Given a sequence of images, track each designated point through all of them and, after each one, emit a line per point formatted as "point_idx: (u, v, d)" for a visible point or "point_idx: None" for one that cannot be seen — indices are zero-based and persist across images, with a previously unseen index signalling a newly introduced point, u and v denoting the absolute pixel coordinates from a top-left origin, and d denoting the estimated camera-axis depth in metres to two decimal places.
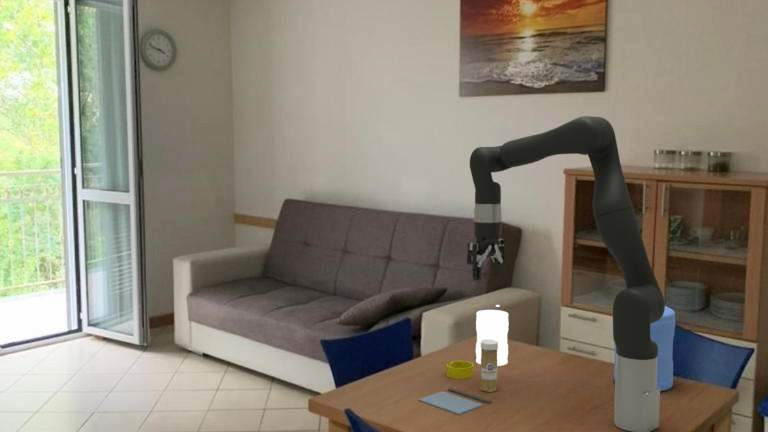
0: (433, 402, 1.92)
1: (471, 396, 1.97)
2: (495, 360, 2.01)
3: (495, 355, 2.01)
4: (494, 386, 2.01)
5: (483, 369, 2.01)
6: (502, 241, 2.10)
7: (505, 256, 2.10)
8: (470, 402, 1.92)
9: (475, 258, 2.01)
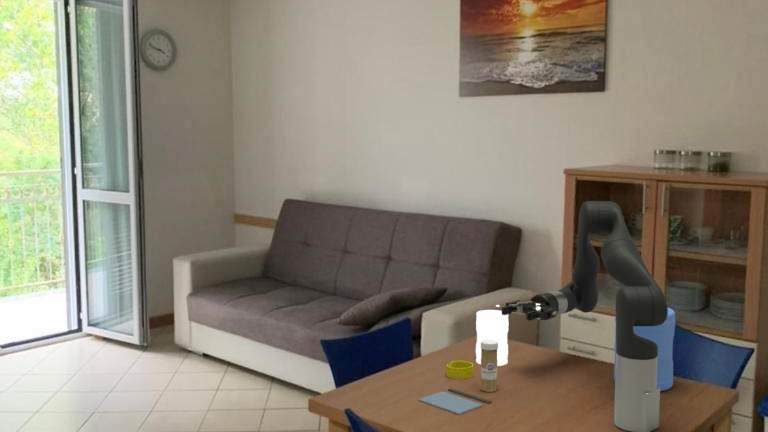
0: (433, 402, 1.92)
1: (471, 396, 1.97)
2: (495, 360, 2.01)
3: (495, 355, 2.01)
4: (494, 386, 2.01)
5: (483, 369, 2.01)
6: None
7: (546, 310, 2.08)
8: (470, 402, 1.92)
9: (510, 302, 2.18)
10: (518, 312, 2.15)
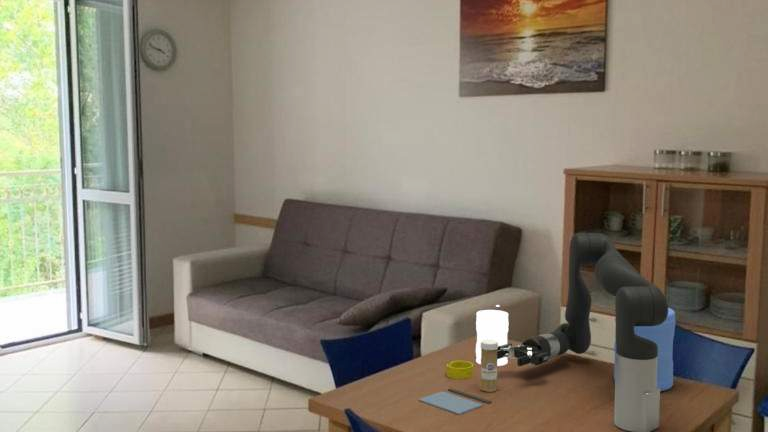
0: (433, 402, 1.92)
1: (471, 396, 1.97)
2: (495, 360, 2.01)
3: (495, 355, 2.01)
4: (494, 386, 2.01)
5: (483, 369, 2.01)
6: None
7: (537, 355, 2.06)
8: (470, 402, 1.92)
9: (502, 346, 2.16)
10: (510, 356, 2.14)
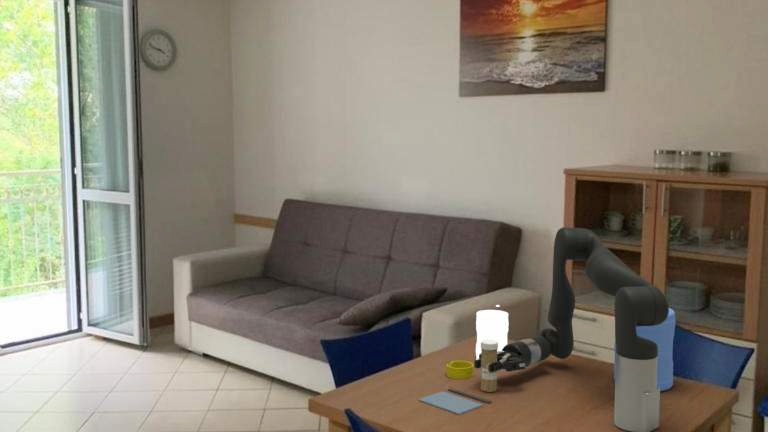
0: (433, 402, 1.92)
1: (471, 396, 1.97)
2: (495, 360, 2.01)
3: (495, 355, 2.01)
4: (494, 386, 2.01)
5: (483, 369, 2.01)
6: None
7: (509, 361, 2.01)
8: (470, 402, 1.92)
9: None
10: None
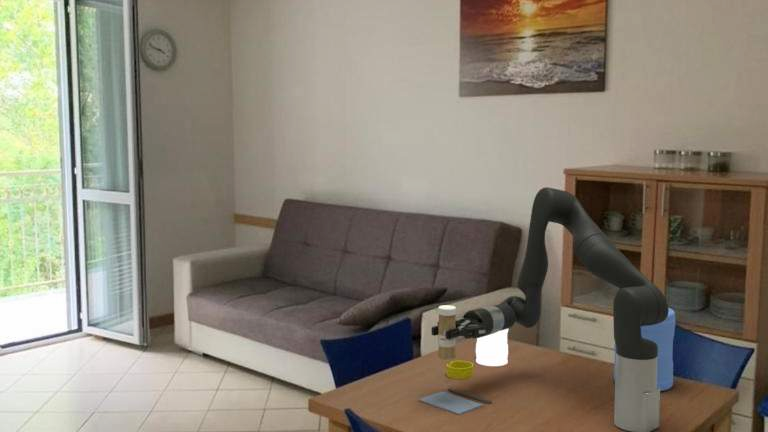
0: (433, 402, 1.92)
1: (471, 396, 1.97)
2: (453, 326, 1.90)
3: (453, 321, 1.90)
4: (452, 354, 1.91)
5: (440, 336, 1.90)
6: None
7: (468, 328, 1.90)
8: (470, 402, 1.92)
9: None
10: None
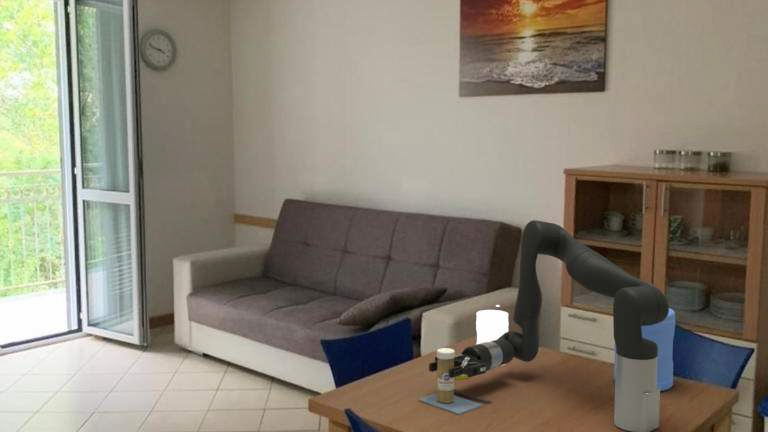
0: (433, 402, 1.92)
1: (471, 396, 1.97)
2: None
3: (451, 364, 1.91)
4: (451, 397, 1.92)
5: (439, 379, 1.91)
6: None
7: (471, 366, 1.90)
8: (470, 402, 1.92)
9: None
10: None
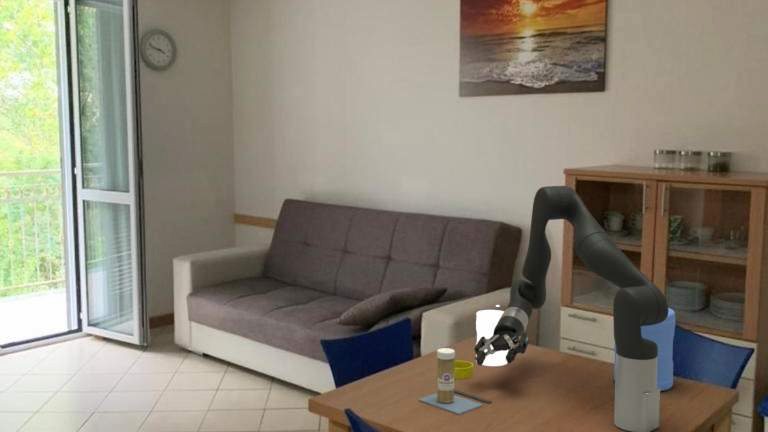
0: (433, 402, 1.92)
1: (471, 396, 1.97)
2: (452, 370, 1.91)
3: (452, 365, 1.91)
4: (451, 397, 1.92)
5: (439, 379, 1.91)
6: None
7: (520, 343, 1.97)
8: (470, 402, 1.92)
9: (477, 345, 2.05)
10: (491, 352, 2.03)
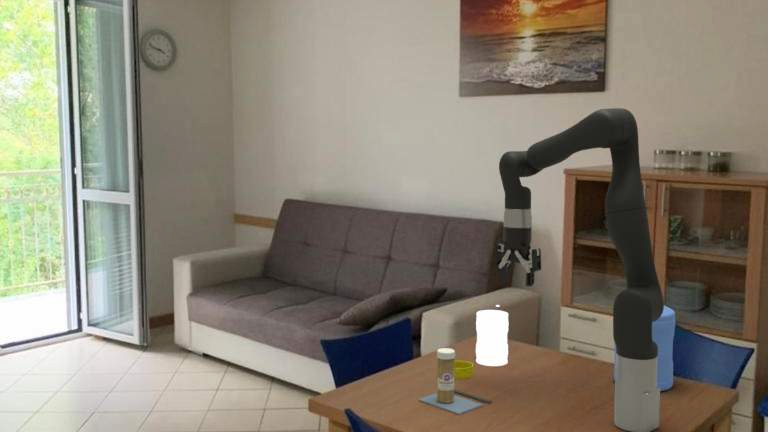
0: (433, 402, 1.92)
1: (471, 396, 1.97)
2: (452, 370, 1.91)
3: (452, 365, 1.91)
4: (451, 397, 1.92)
5: (439, 379, 1.91)
6: None
7: (533, 267, 1.99)
8: (470, 402, 1.92)
9: (495, 258, 2.08)
10: (510, 261, 2.07)
